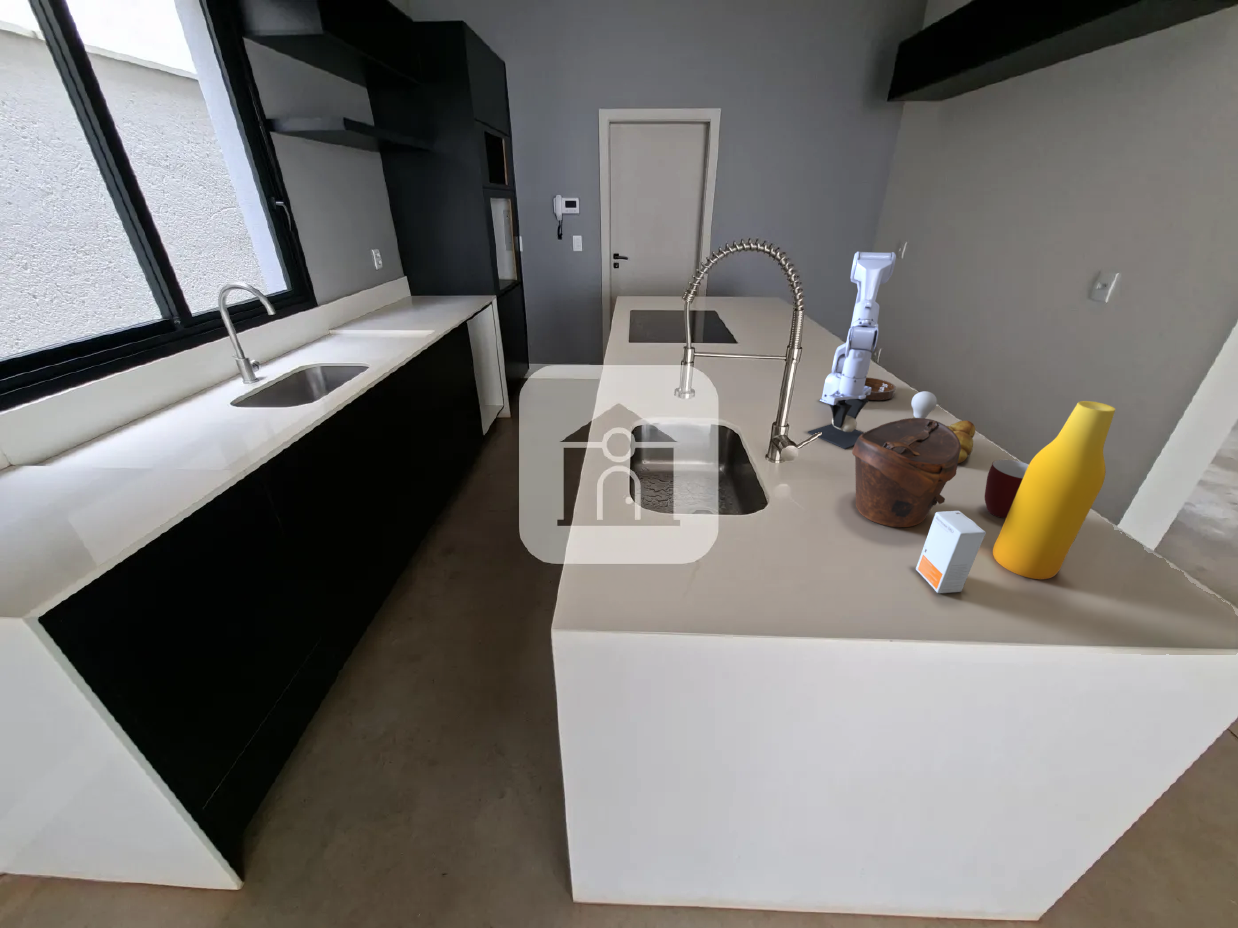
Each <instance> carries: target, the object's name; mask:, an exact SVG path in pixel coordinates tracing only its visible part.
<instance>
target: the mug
mask: <svg viewBox="0 0 1238 928" xmlns="http://www.w3.org/2000/svg"><path fill="white" fill-rule="evenodd" d="M1029 464H1030V463H1027V462H1023V461H1020V460H1013V459H997V460H994V461H993V462H992V463H991V465H990V467H989V470H988V473H987V477H986V482H985V483H986V484H985V490H984V503H985V506H986V510H987V512H989V514H991V515H992V516H995V517H998V518H1001V519H1002V518H1003V519H1006V517H1007V515H1008V513H1009V510H1010V508H1011V506H1012V503H1013V501H1014V498H1015V496H1016V494H1017V491H1018V489H1019V487H1020V484H1021V482H1022V480H1023V477H1024V475H1025V472H1026V470H1027V467H1028V466H1029Z"/></svg>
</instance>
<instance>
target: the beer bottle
mask: <svg viewBox="0 0 1238 928" xmlns="http://www.w3.org/2000/svg"><path fill="white" fill-rule="evenodd" d="M1115 413H1116V408H1115V407H1114V406H1112V405H1109V404H1106V403H1102V402H1099V401H1090V400H1081V401H1078V402H1077V403H1076V405H1075V406H1074V408H1073V410H1072V411H1071V413H1070V414H1069V416H1068V418H1067V420H1066V422H1065V423H1064V425H1063V426H1062V428H1061V430H1060V431H1059V433H1058V434H1057V436H1056V437H1055V438H1054V439H1053V440H1051V442H1049V444H1047V445H1045V446H1044V447H1043V448H1041V450H1039V451H1038V452H1037V453H1036V454H1035V455H1034V457H1033V458H1032V459H1031V460H1030V462H1029V463H1028V464H1029V466H1028V467H1027V470H1026V472H1025V475H1024V477H1023V480H1022V482H1021V484H1020V487H1019V489H1018V491H1017V494H1016V496H1015V498H1014V501H1013V503H1012V506H1011V508H1010V510H1009V513H1008V515H1007V517H1006V518H1005V520H1004V522H1003V525H1002V526H1001V529H1000V531H999V534H998V535H997V538H996V540H995V542H994V544H993V547H992V555H993V558H994V560H995V561H996V562H997V563H998V564H999V565H1000V566H1001V567H1003V569H1005V570H1007V571H1009V572H1011V573H1014V574H1015V575H1018V576H1020V577H1024V578H1028V579H1034V580H1048V579H1051V578H1054V577H1055V576H1056V575H1057V574H1058V573H1059V571H1061V568H1062V566H1063V564H1064V562H1065V559H1066V557H1067V555H1068V554H1069V551H1070V549H1071V548H1072V545H1073V543H1074V542H1075V539H1076V537H1077V536H1078V534H1079V533H1080V531H1081V528H1082V527H1083V524H1084V522H1085V520H1086V519H1087V516H1088V514H1089V512H1090V510H1091V508H1092V507H1093V505H1094V503H1095V501H1096V499H1097V497H1098V496H1099V493H1100V491H1101V490H1102V488H1103V486H1104V483H1105V480H1106V479H1105V478H1106V474H1107V473H1106V472H1107V471H1106V470H1107V469H1106V461H1105V456H1104V447H1105V444H1106V440H1107V436H1108V434H1109V431H1110V428H1111V425H1112V422H1113V419H1114V417H1115V416H1114V415H1115Z"/></svg>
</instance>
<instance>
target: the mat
mask: <svg viewBox="0 0 1238 928" xmlns="http://www.w3.org/2000/svg"><path fill="white" fill-rule="evenodd" d="M818 432H822V435H821V436H819V437H818V438H819V439H821V440H823V441H825V442H827V443H830V444H832V445H835V446H837V447H839V448H841V449H844V450H847V449H851V448H854V445H855V443H856V441H857V439H858V437H859V436H860V435H861V434H863V433H864V432H863V431H861V430H858V429H857V428H856V429H855V430H854V431H852V432H844V431H842V430H839V429H837V428H835V427H834V426H833V425H832V423H829V424H827V425H824V426H821V427H817V428H814V429H811V430H808V431H807V434H810V435H812V436H814V435H813V434H815V433H818Z"/></svg>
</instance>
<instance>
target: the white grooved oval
mask: <svg viewBox="0 0 1238 928" xmlns="http://www.w3.org/2000/svg"><path fill="white" fill-rule="evenodd" d="M831 424H832V425H833V417H832V419H831ZM833 426H834V425H833ZM857 426H858V421H857V419H856V420H855V419H854V418H853V417H851V416H848V415H846V417H845V420H844V423H843V426H842V428H838V427H836V426H834V427H835V428H837V429H839V430H842V431H844V432H852V431H854V430H855V429H856V430H857Z"/></svg>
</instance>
